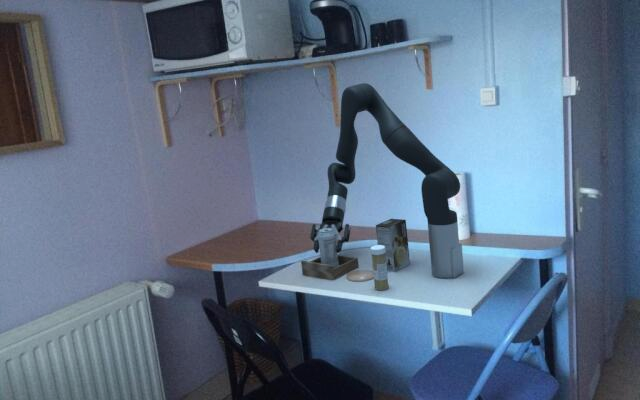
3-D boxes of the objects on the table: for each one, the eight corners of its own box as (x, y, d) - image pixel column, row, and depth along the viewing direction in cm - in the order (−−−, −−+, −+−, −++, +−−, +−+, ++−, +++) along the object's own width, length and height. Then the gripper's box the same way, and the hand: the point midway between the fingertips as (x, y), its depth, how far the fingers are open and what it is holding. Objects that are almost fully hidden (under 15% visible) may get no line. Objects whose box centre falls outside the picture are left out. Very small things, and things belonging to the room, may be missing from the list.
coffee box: (395, 262, 196) (391, 218, 193) (410, 264, 191) (406, 219, 188) (379, 270, 189) (375, 224, 186) (395, 272, 185) (390, 226, 182)
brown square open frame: (358, 267, 195) (357, 253, 194) (333, 280, 185) (331, 266, 184) (328, 262, 204) (327, 249, 203) (302, 274, 194) (301, 261, 193)
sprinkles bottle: (373, 286, 175) (368, 245, 172) (387, 284, 175) (383, 243, 172) (376, 291, 170) (371, 249, 168) (390, 289, 171) (386, 247, 168)
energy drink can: (335, 267, 198) (330, 226, 195) (342, 271, 193) (337, 229, 190) (319, 270, 196) (314, 229, 193) (326, 275, 191) (321, 233, 188)
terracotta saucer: (382, 273, 186) (382, 271, 185) (364, 283, 178) (364, 281, 178) (358, 269, 192) (358, 268, 192) (340, 279, 185) (340, 277, 185)
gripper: (312, 206, 199) (303, 246, 191) (350, 205, 194) (343, 246, 186) (319, 216, 205) (311, 256, 197) (356, 215, 200) (349, 256, 192)
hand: (326, 251), depth 192 cm, fingers open, 7 cm apart
